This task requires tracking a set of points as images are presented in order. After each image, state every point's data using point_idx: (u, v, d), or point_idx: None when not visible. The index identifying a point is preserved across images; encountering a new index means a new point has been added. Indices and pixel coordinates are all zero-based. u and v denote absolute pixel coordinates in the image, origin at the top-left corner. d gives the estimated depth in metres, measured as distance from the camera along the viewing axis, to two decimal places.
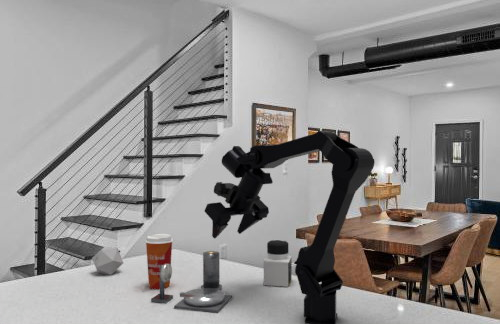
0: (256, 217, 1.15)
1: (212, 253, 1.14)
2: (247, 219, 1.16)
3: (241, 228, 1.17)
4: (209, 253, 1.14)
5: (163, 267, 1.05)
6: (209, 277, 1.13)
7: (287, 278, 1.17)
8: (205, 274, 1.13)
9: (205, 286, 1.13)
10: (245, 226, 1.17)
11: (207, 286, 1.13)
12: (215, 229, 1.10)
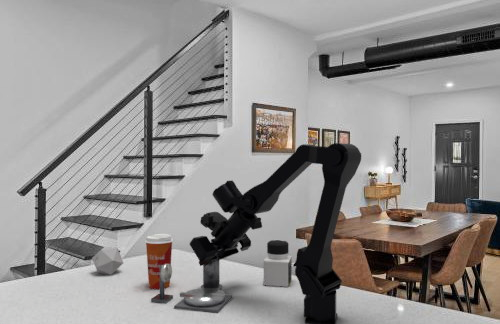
0: (232, 250, 1.15)
1: None
2: (223, 250, 1.15)
3: None
4: None
5: (163, 267, 1.05)
6: (209, 277, 1.13)
7: (287, 278, 1.17)
8: (205, 274, 1.13)
9: (205, 286, 1.13)
10: (220, 257, 1.16)
11: (207, 286, 1.13)
12: None
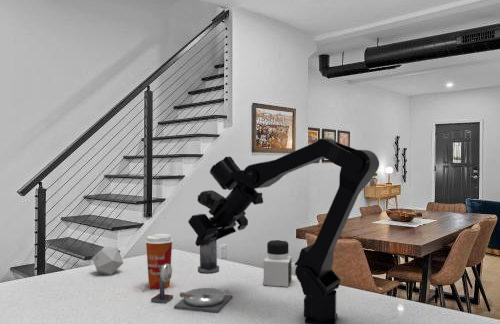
0: (230, 230, 1.12)
1: None
2: (220, 230, 1.12)
3: None
4: None
5: (163, 267, 1.05)
6: (207, 257, 1.09)
7: (287, 278, 1.17)
8: (202, 254, 1.09)
9: (202, 267, 1.09)
10: (217, 237, 1.12)
11: (205, 267, 1.09)
12: (201, 238, 1.08)
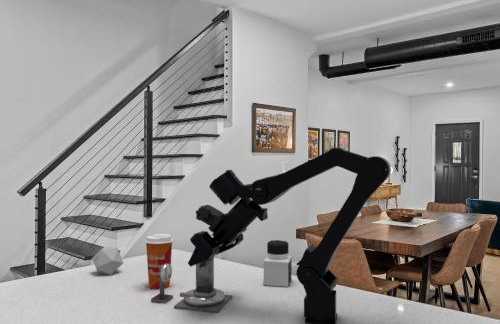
0: (229, 245, 1.08)
1: None
2: (219, 245, 1.08)
3: None
4: None
5: (163, 267, 1.05)
6: (205, 281, 1.02)
7: (287, 278, 1.17)
8: (200, 278, 1.02)
9: (200, 291, 1.03)
10: None
11: (203, 291, 1.02)
12: (196, 258, 0.99)
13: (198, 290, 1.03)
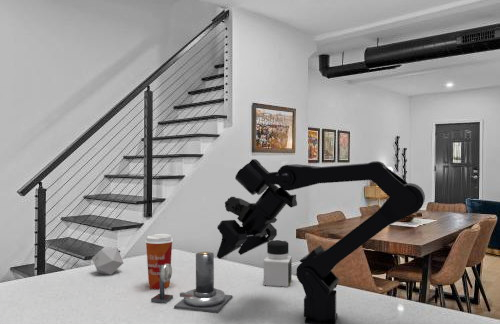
0: (263, 239, 1.05)
1: (207, 254, 1.03)
2: (252, 240, 1.06)
3: (243, 249, 1.06)
4: (204, 254, 1.03)
5: (163, 267, 1.05)
6: (205, 281, 1.02)
7: (287, 278, 1.17)
8: (200, 278, 1.02)
9: (200, 291, 1.03)
10: (249, 247, 1.06)
11: (203, 291, 1.02)
12: (223, 249, 0.97)
13: (198, 290, 1.03)
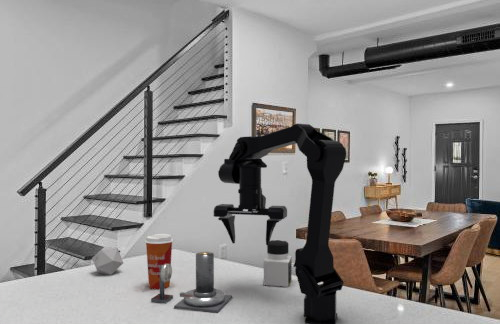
0: (270, 219, 1.08)
1: (207, 254, 1.03)
2: None
3: None
4: (204, 254, 1.03)
5: (163, 267, 1.05)
6: (205, 281, 1.02)
7: (287, 278, 1.17)
8: (200, 278, 1.02)
9: (200, 291, 1.03)
10: None
11: (203, 291, 1.02)
12: None
13: (198, 290, 1.03)
